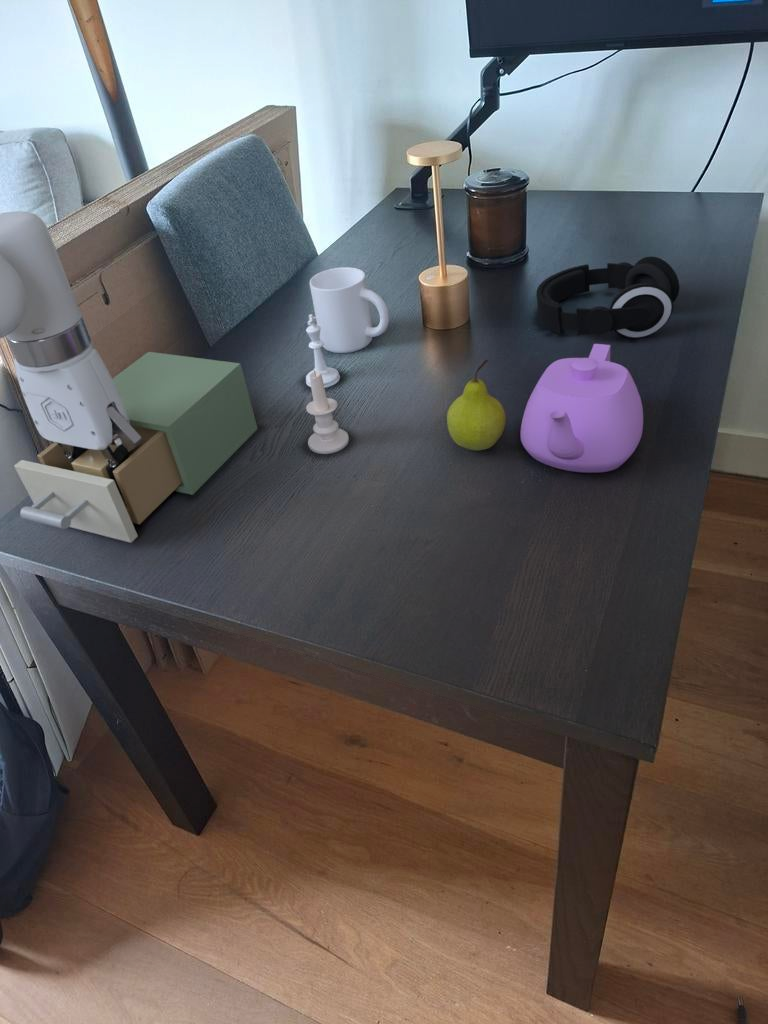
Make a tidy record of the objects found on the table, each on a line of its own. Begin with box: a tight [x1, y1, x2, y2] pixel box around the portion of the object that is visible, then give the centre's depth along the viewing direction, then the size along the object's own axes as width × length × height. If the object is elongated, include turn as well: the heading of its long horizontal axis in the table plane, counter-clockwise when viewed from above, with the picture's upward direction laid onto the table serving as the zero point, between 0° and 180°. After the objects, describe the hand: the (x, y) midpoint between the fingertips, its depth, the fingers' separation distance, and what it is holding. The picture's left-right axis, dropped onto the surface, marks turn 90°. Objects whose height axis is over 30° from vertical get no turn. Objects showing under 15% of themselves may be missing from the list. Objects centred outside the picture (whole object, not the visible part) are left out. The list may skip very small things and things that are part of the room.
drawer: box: [13, 426, 183, 544], centre depth 87 cm, size 18×14×8 cm
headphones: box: [535, 255, 680, 339], centre depth 112 cm, size 18×8×20 cm
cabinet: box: [112, 351, 259, 496], centre depth 96 cm, size 15×15×10 cm
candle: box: [305, 369, 350, 455], centre depth 93 cm, size 5×5×10 cm
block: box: [71, 444, 130, 479], centre depth 88 cm, size 4×4×4 cm
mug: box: [309, 266, 390, 354], centre depth 114 cm, size 12×8×10 cm
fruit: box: [446, 359, 507, 452], centre depth 88 cm, size 7×7×12 cm
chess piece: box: [305, 313, 341, 389], centre depth 106 cm, size 5×5×10 cm
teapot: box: [519, 343, 644, 473], centre depth 85 cm, size 13×20×11 cm
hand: (110, 483), depth 89 cm, fingers closed on block, 4 cm apart
